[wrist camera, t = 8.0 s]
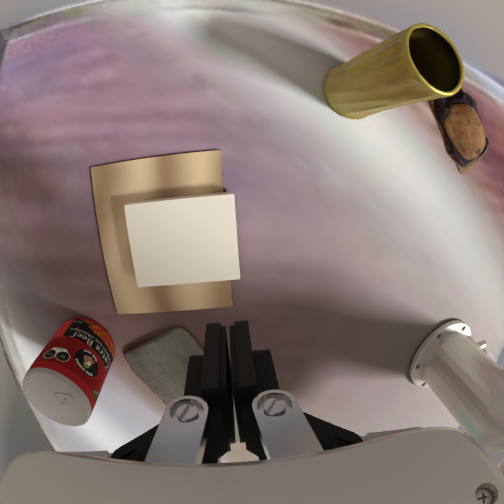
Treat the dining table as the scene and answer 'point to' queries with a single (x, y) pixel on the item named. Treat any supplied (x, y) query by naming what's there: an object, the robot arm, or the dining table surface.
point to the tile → (183, 239)
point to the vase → (396, 73)
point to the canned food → (70, 372)
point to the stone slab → (167, 364)
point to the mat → (116, 234)
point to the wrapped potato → (461, 128)
